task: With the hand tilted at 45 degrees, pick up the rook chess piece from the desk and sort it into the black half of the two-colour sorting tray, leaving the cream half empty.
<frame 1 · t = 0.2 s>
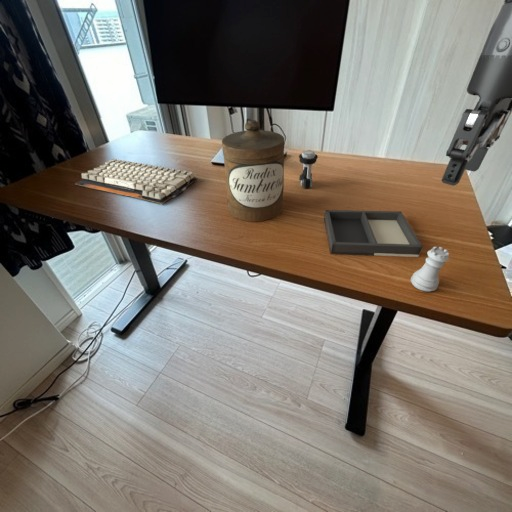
hand: (459, 176, 44), 18 cm above the table, tool pointing down, fingers open, 8 cm apart
rook chess piece: (422, 285, 50), on the table
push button: (304, 184, 84), on the table
wooden container: (255, 208, 74), on the table
mechanical keyboard: (138, 183, 89), on the table
sorting tray: (366, 236, 62), on the table
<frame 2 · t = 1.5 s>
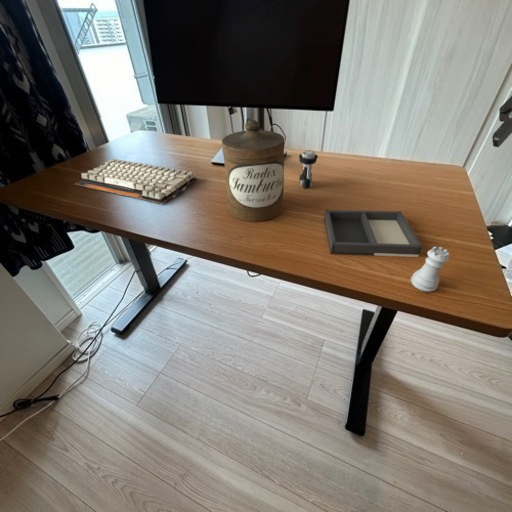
nothing on the table moved.
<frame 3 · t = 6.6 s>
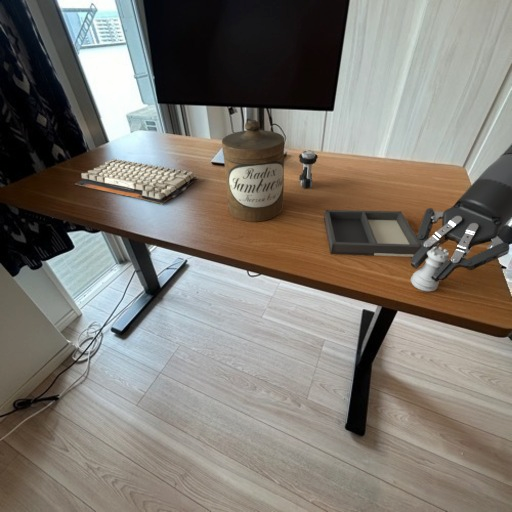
hand: (423, 272, 47), 4 cm above the table, tool tilted 45°, fingers closed on rook chess piece, 3 cm apart
rook chess piece: (422, 285, 50), on the table, touching gripper
everything else where it was.
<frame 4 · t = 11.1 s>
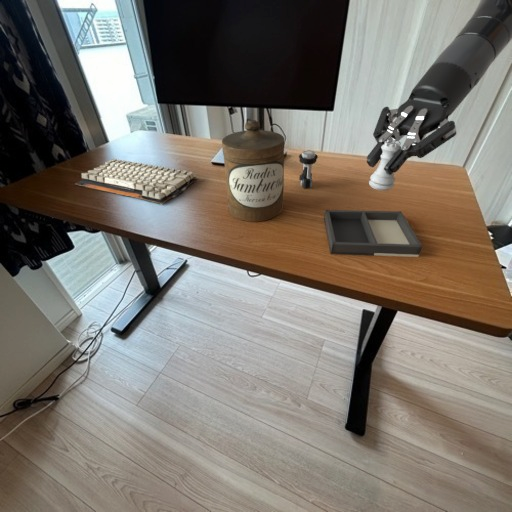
hand: (378, 167, 47), 18 cm above the table, tool tilted 45°, fingers closed on rook chess piece, 3 cm apart
rook chess piece: (380, 186, 51), point 14 cm above the table, touching gripper
everything else where it was.
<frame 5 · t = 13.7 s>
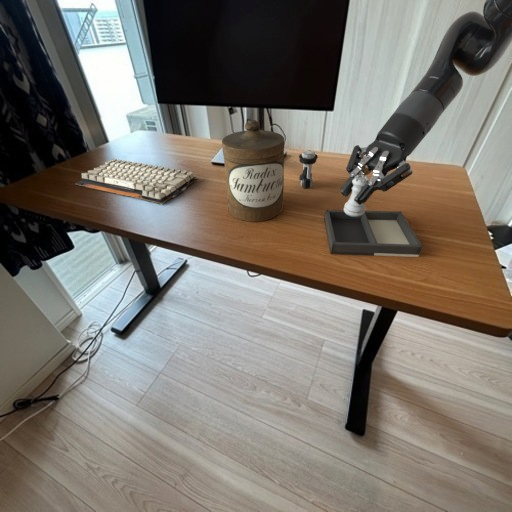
hand: (350, 198, 55), 10 cm above the table, tool tilted 45°, fingers closed on rook chess piece, 3 cm apart
rook chess piece: (353, 213, 59), point 6 cm above the table, touching gripper
everything else where it was.
when the fingers open (5 cm above the table, at t = 15.6 s): rook chess piece stays where it is, resting on sorting tray.
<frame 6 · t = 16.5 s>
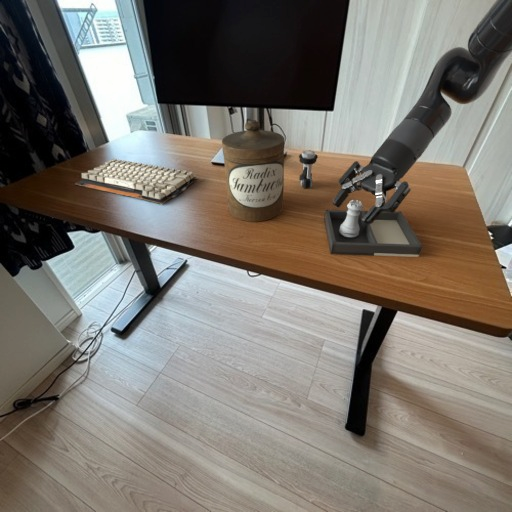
hand: (348, 214, 58), 6 cm above the table, tool tilted 45°, fingers open, 8 cm apart
rook chess piece: (348, 233, 62), resting on sorting tray
everything else where it was.
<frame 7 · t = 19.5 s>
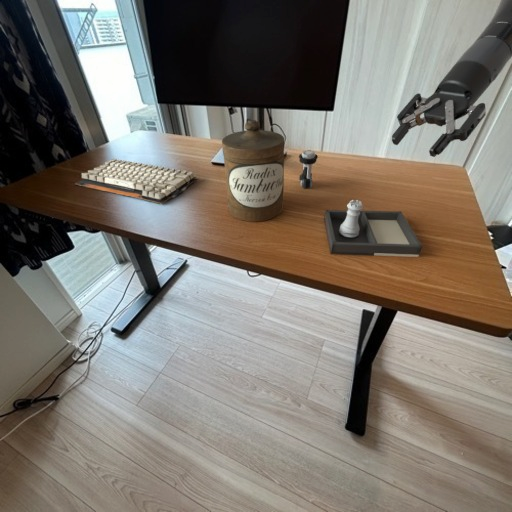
hand: (411, 148, 54), 18 cm above the table, tool tilted 45°, fingers open, 8 cm apart
nothing on the table moved.
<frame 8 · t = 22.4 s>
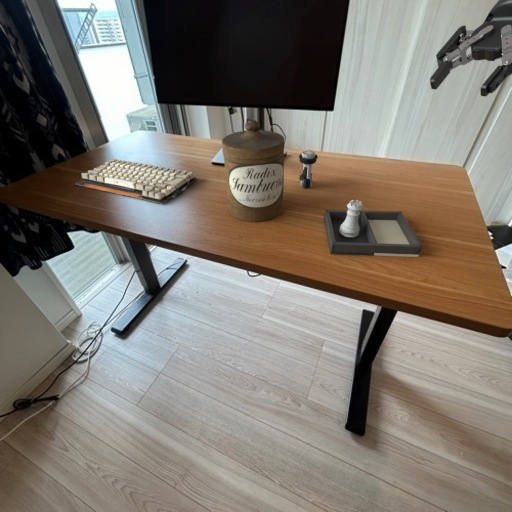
hand: (456, 89, 45), 29 cm above the table, tool tilted 45°, fingers open, 8 cm apart
nothing on the table moved.
at the end: rook chess piece inside the target area on the sorting tray (0.2 cm from its centre), point 0.4 cm above the sorting tray's base; rook chess piece tilted 0°; the gripper is holding nothing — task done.
